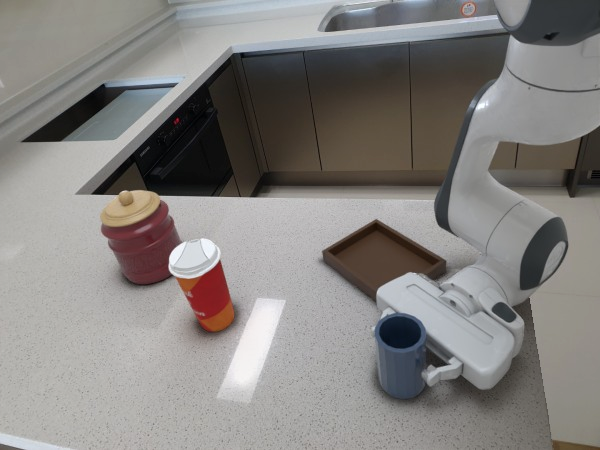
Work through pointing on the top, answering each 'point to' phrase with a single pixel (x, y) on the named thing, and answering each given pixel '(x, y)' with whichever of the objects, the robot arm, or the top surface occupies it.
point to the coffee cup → (203, 282)
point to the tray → (380, 257)
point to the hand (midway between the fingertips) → (398, 356)
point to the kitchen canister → (140, 235)
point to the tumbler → (401, 354)
